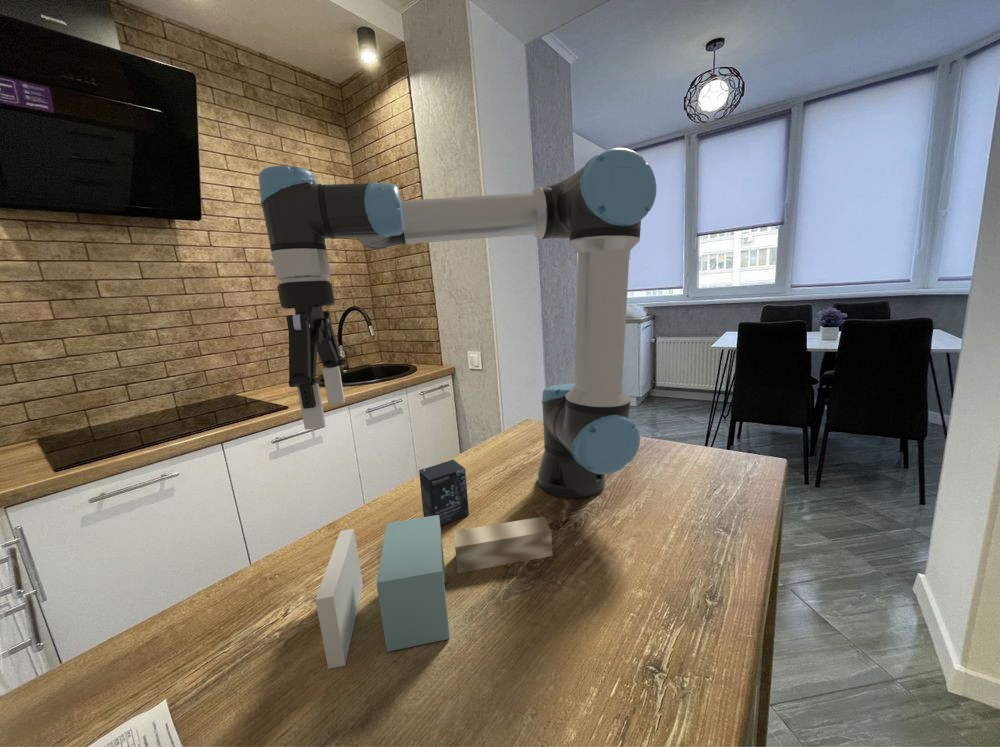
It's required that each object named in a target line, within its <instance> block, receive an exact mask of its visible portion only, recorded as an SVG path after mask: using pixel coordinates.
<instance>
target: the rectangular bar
mask: <svg viewBox="0 0 1000 747" xmlns="http://www.w3.org/2000/svg"><path fill="white" fill-rule="evenodd" d="M552 535H553V534H552V529H551V528H550V525H549V524H548V522H547V520H546V518H545V516H538V517H533V518H525V519H520V520H514V521H507V522H502V523H501V522H500V523H495V524H490V525H489V524H488V525H484V526H477V527H471V528H465V529H460V530H454V531H453V540H454V550H455V552H454V553H455V560H456V569H457V574H460V573H465V572H467V573H468V572H471V571H477V570H482V569H488V568H489V569H490V568H492V567H493V568H494V567H499V566H505V565H510V564H514V563H516V564H517V563H521V562H527V561H531V560H533V561H534V560H538V559H543V558H544V559H545V558H547V557H552V556H553V538H552Z"/></svg>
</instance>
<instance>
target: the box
mask: <svg viewBox="0 0 1000 747" xmlns="http://www.w3.org/2000/svg"><path fill="white" fill-rule="evenodd" d="M418 474H419V482H420V483H419V484H420V485H419V486H420V492H421V493H420V494H421V503H422V512H423V517H428V516H435V515H439V518H440V527H442V526H444V525H446V524H449V523H452V522H454V521H457V520H459V519H462V518H464V517H468V516H469V515H470V512H469V499H468V497H469V496H468V486H467V475H466V468H465V467H464V466H462V465H461V464H460V463H458V462H457V461H456V460H455V459H449V460H447V461H444V462H440V463H438V464H434V465H433V466H432V465H431V466H428V467H426V468H421V469H419V470H418Z"/></svg>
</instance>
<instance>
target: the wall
mask: <svg viewBox="0 0 1000 747" xmlns="http://www.w3.org/2000/svg"><path fill="white" fill-rule="evenodd" d="M355 532H356V531H355V528H350V529H344V530H340V531H339V534H338V537H337V539H336V542H335V545H334V547H333V551H332V553H331V556H330V559H329V561H328V564H327V567H326V570H325V571H324V572H325V573H324V575H323V577H322V581H321V583H320V585H319V589H318V591H317V594H316V598H315V600H314V601H315V606H316V611H317V615H318V616H317V617H318V622H319V627H320V632H321V636H322V642H323V648H324V654H325V658H326V663H327V664H326V665H327V669H328V670H330V669H331V670H332V669H334V668H340V667H344V666H346V663H347V659H348V655H349V649H350V645H351V641H352V637H353V632H354V627H355V623H356V619H357V613H358V609H359V605H360V601H361V596H362V595H361V594H362V593H363V592H362V591H363V587H364V583H363V576H362V570H361V569H362V568H361V564H360V557H359V551H358V545H357V539H356V533H355Z"/></svg>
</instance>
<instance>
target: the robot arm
mask: <svg viewBox="0 0 1000 747" xmlns="http://www.w3.org/2000/svg"><path fill="white" fill-rule="evenodd" d="M258 186H259V192H260V193H259V194H260V206H261V208H262V212H263V218H264V222H265V228H266V233H267V237H268V241H269V247H270V248H269V249H270V252H271V258H272V259H270V260H269V265H270V266H271V267H273V268H274V275H275V278H276V279H277V280H278V281H281V283H278V285H277V293H278V298H279V303H280V307H281V308H282V309H286V310H287V309H294V314H290V315H287V316H286V322H287V323H286V324H287V330H288V386H289V388H297V393H298V394H297V395H298V399H299V400H298V401H299V404H300V410H301V415H302V421H303V427H304V430H313V429H315V430H316V429H323V428H326V427H327V425H326V418H325V413H324V408H323V401H322V396H321V390H320V389H321V388H320V384H319V382H316V381H317V379H316V378H317V377H316V376H317V366H318V365H317V363H318V362H317V361H318V356H319V359H320V360H321V363H322V365H323V368H322V376H323V381H324V388H325V393H326V399H327V400H326V401H327V404H328V405H334V404H344V403H345V394H344V386H343V382H342V375H341V368H340V366H344V359H343V358H342V355H341V353H340V349H339V345H338V343H337V339H336V336H335V331H334V329H333V325H332V320H331V315H330V311H329V310H323V307H328V306H333V305H334V304H335V296H334V290H333V283H331V281H329V280H328V279H329V278H330V277H331V274H332V273H331V269H330V263H329V257H328V250H327V247H326V240H327V239H329V240H330V239H331V240H335V239H357V241H358V242H360V243H361V244H363V245H364V247H367V248H368V249H371V250H383V249H387V248H388V247H391V246H392V247H393V246H403V245H413V244H426V243H437V242H439V243H440V242H449V241H452V242H453V241H462V240H477V239H489V238H500V237H501V238H502V237H503V238H504V237H514V236H517V237H518V236H528V235H533V236H534V237H535V238H536V239H538V240H543V239H569V245H570V246H571V247H572V248H573V249H574V250H575V251H576V253H577V283H576V312H575V313H576V316H575V317H576V318H575V321H576V322H575V353H574V379H573V380H574V381H573V383H562V384H554V385H550V386H547V387H545V388H544V389H543V392H542V399H541V404H542V419H543V420H542V422H543V423H542V424H543V444H544V451H543V455H542V457H541V462H540V464H539V468H538V471H537V480H538V481H537V484H538V485H539V487H540V489H542V491H544V492H545V493H547V494H549V495H552V496H555V497H558V498H564V499H583V498H589V497H591V496H594V495H596V494H598V493H601V491H602V490H604V488H605V486H606V476H605V475H608V474H614V473H617V472H619V471H621V470H623V469H624V468H625V467H626V465H628V464H629V463H631V462H632V461H633V460H634V459H635V457H636V455H637V453H638V450H639V447H640V444H641V437H640V432H639V428H637V426H636V424H635V423H634V422H633V420H632V419H630V414H631V413H630V412H631V397H630V396H629V394H628V393H626V392H625V390H624V389H623V380H624V379H623V378H624V376H623V374H624V360H625V358H624V357H625V343H626V342H625V339H626V324H627V305H628V304H627V302H628V285H629V268H630V253H631V251H632V249H633V248H634V247H635V246H636V245H637V244H638V243H639V242H640V241H641V229H642V227H641V225H642V220H643V219H644V218H645V217H646V216H647V215H648V213H649V212H650V211H651V210H652V207H653V206H654V203H655V201H656V197H657V181H656V176H655V174H654V171H653V169H652V166H650V164H649V163H648V162H647V161H646V160H645V159H644V157H643V156H642V155H641V154H639V153H638V152H637V151H635V150H632V149H629V148H624V147H615V148H613V147H612V148H610V149H607V150H605V151H603V152H601V153H600V154H596V155H594V156H593V157H591V158H590V159H589V160H588V161H587V162H586V163H585V165H583V167H581V168H580V169H579V170H577V171H576V172H574V173H573V174H572V175H571V176H570V177H568V178H566V179H564V180H561V181H559V182H557V183H553V184H549V185H541V186H539V185H537V186H535V188H534V189H533V190H532V192H519V193H505V194H502V193H501V194H490V195H489V194H487V195H474V196H458V197H445V198H443V197H442V198H428V199H427V198H426V199H412V200H410V199H409V200H401V199H402V198H401V193H400V189H399V187H398V186H397V185H395V184H393V183H383V182H382V183H380V182H377V181H371V182H369V183H368V182H367V183H366V182H365V183H363V182H362V183H340V184H339V183H335V184H333V183H332V184H331V183H330V184H321V183H318V182H317V181H316V178H315V175H314V173H313V172H311V171H310V170H308V169H306V168H304V167H300V166H288V165H271V166H268V167H267V166H266V168H263V169H262V170H261V171H260V172H259V174H258Z"/></svg>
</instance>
